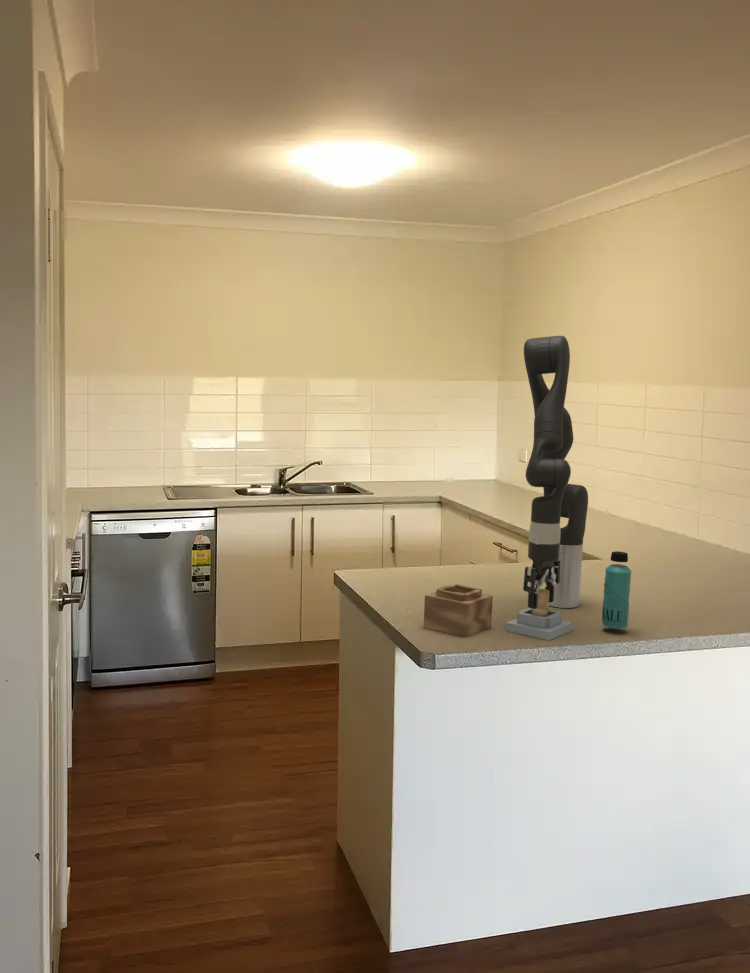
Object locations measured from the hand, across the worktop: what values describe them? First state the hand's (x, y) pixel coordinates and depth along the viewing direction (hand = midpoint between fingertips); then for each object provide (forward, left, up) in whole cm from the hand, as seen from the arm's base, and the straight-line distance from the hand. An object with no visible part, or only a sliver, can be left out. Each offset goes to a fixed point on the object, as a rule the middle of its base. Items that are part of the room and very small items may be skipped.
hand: (540, 605), depth 234 cm
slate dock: (0, 0, -6) cm, 6 cm away
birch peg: (0, 0, -4) cm, 4 cm away
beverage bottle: (-13, +14, -7) cm, 20 cm away
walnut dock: (+12, -16, -6) cm, 21 cm away
